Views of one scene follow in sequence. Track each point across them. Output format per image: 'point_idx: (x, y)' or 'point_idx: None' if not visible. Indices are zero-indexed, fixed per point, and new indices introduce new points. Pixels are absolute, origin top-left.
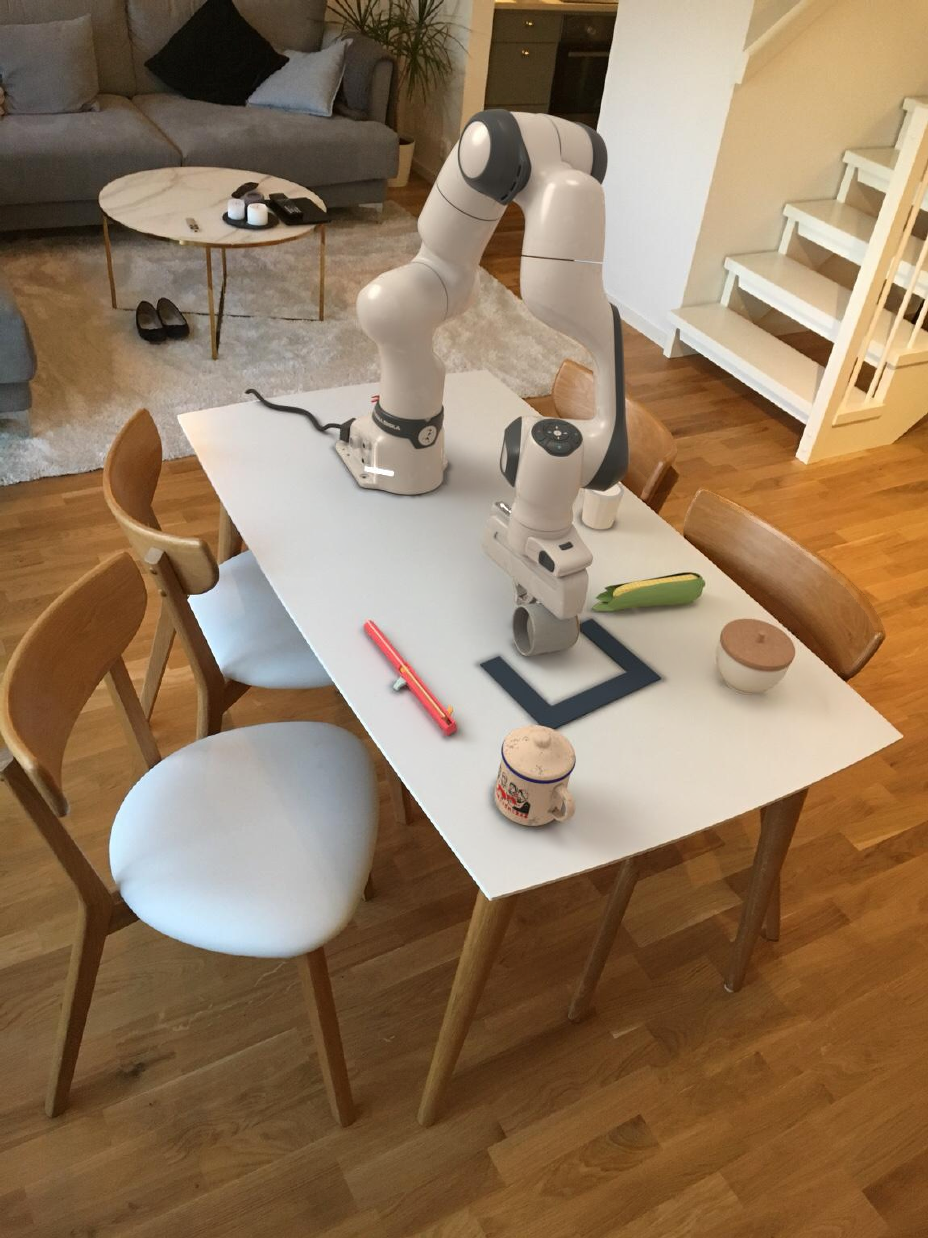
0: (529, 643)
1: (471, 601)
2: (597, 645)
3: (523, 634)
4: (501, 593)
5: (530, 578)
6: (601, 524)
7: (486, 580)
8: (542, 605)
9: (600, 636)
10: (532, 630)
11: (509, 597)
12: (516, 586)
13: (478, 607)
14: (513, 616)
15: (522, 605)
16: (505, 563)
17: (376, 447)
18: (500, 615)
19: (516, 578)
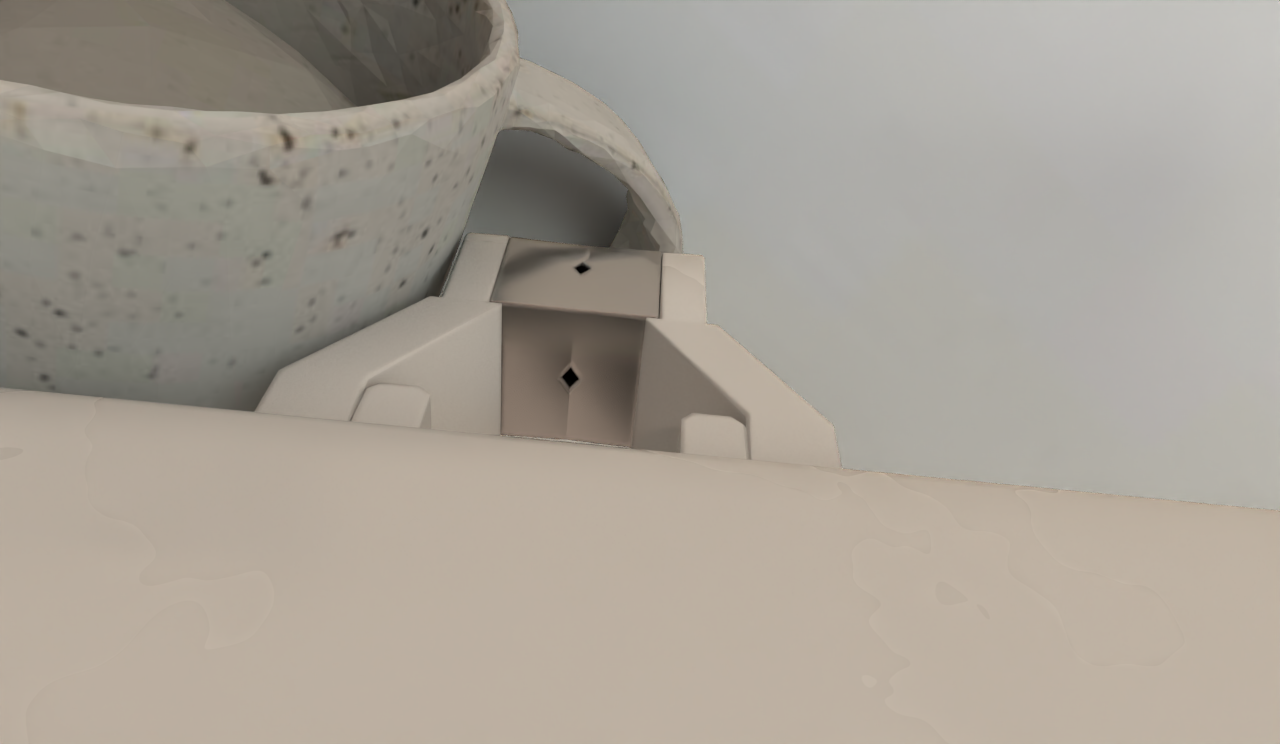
0: (296, 29)
1: (1230, 12)
2: None
3: (397, 52)
4: (1051, 340)
5: (105, 697)
6: None
7: (1277, 358)
8: (29, 385)
9: None
10: (39, 18)
11: (959, 357)
12: (720, 406)
13: (1102, 5)
14: (488, 45)
15: (195, 132)
16: (1115, 632)
17: None
18: (841, 113)
19: (653, 493)
